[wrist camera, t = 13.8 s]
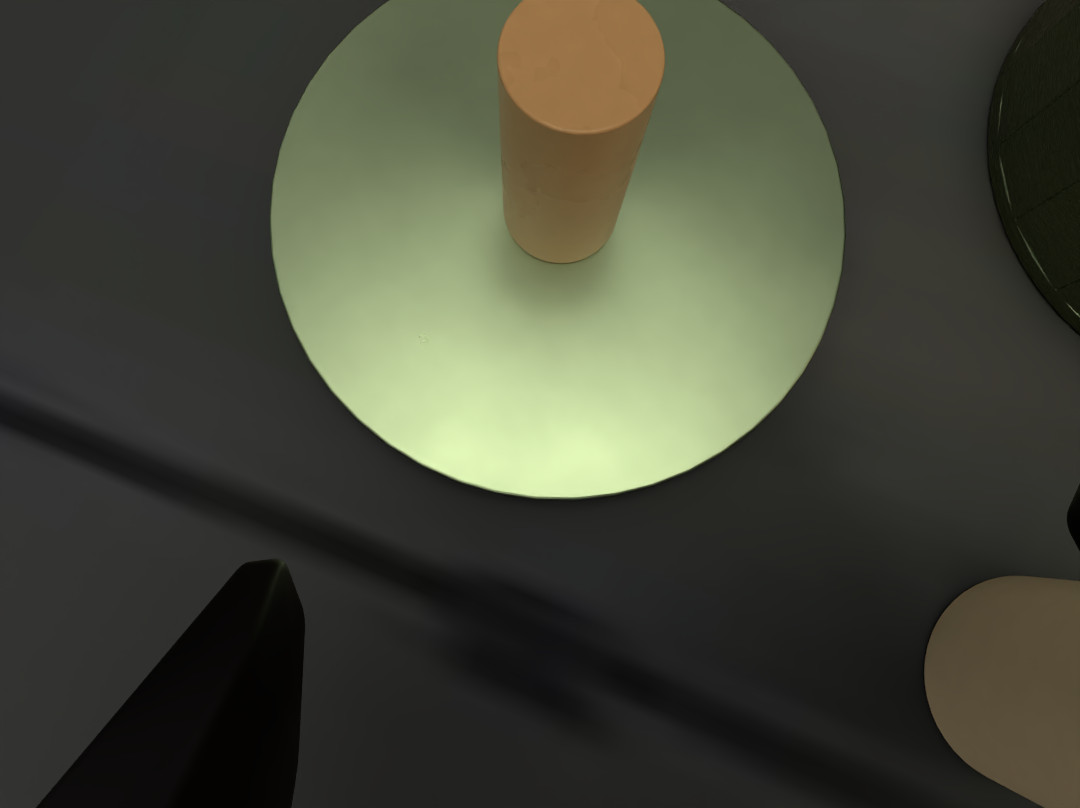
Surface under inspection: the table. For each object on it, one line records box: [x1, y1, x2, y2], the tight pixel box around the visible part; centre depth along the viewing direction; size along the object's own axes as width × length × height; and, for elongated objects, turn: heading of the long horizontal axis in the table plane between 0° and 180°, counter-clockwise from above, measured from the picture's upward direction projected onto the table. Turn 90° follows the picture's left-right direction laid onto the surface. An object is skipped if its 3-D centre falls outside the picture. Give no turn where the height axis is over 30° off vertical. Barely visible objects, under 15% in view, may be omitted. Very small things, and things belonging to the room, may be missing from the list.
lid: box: [269, 0, 846, 501], centre depth 16 cm, size 13×13×7 cm
